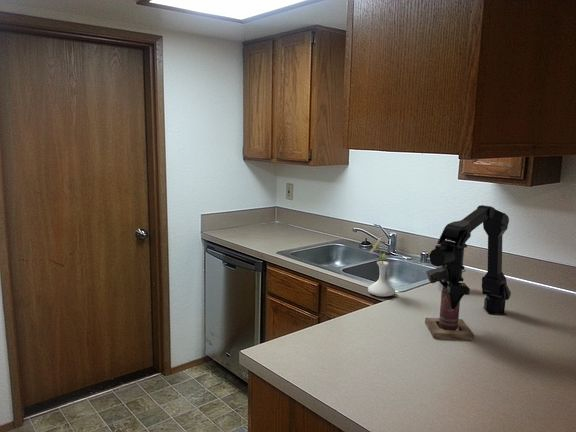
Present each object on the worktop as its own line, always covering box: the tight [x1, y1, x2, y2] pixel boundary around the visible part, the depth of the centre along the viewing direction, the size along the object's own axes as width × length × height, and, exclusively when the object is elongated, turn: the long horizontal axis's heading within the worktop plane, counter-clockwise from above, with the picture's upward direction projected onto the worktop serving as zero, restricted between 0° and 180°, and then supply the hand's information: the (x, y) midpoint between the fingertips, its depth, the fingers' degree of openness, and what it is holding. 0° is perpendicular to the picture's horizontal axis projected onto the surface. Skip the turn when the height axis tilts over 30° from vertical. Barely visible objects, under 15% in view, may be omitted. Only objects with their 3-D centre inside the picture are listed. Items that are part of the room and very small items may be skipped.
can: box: [438, 287, 461, 330], centre depth 158 cm, size 6×6×14 cm
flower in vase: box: [367, 237, 396, 297], centre depth 193 cm, size 13×11×25 cm
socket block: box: [424, 317, 475, 341], centre depth 159 cm, size 13×13×2 cm
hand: (450, 305), depth 158 cm, fingers closed on can, 5 cm apart
